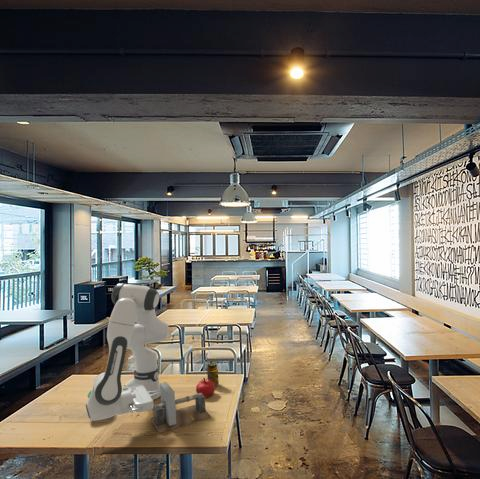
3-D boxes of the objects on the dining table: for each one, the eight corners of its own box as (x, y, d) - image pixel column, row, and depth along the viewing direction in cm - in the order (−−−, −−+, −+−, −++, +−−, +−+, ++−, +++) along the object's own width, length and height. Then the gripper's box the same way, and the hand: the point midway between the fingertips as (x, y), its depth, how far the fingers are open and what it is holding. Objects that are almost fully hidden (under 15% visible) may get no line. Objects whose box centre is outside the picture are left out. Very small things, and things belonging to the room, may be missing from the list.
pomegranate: (217, 397, 184) (216, 379, 183) (198, 400, 181) (197, 382, 180) (213, 389, 193) (212, 372, 193) (194, 392, 190) (194, 375, 190)
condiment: (222, 385, 198) (220, 363, 198) (210, 390, 192) (209, 368, 192) (213, 381, 203) (212, 361, 203) (201, 386, 197) (200, 365, 197)
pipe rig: (158, 433, 152) (157, 412, 152) (150, 419, 164) (149, 399, 164) (210, 417, 163) (209, 397, 163) (199, 405, 176) (198, 387, 175)
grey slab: (169, 425, 155) (167, 393, 155) (161, 413, 166) (159, 383, 166) (176, 423, 156) (174, 391, 156) (167, 411, 168) (166, 381, 168)
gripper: (131, 403, 144) (164, 395, 150) (122, 386, 162) (153, 379, 168) (132, 419, 144) (165, 409, 150) (123, 399, 162) (153, 392, 168)
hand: (158, 393), depth 159 cm, fingers closed
